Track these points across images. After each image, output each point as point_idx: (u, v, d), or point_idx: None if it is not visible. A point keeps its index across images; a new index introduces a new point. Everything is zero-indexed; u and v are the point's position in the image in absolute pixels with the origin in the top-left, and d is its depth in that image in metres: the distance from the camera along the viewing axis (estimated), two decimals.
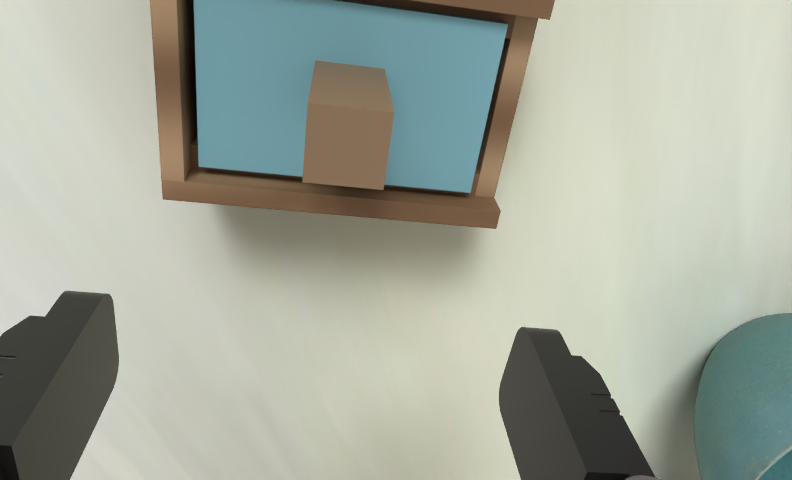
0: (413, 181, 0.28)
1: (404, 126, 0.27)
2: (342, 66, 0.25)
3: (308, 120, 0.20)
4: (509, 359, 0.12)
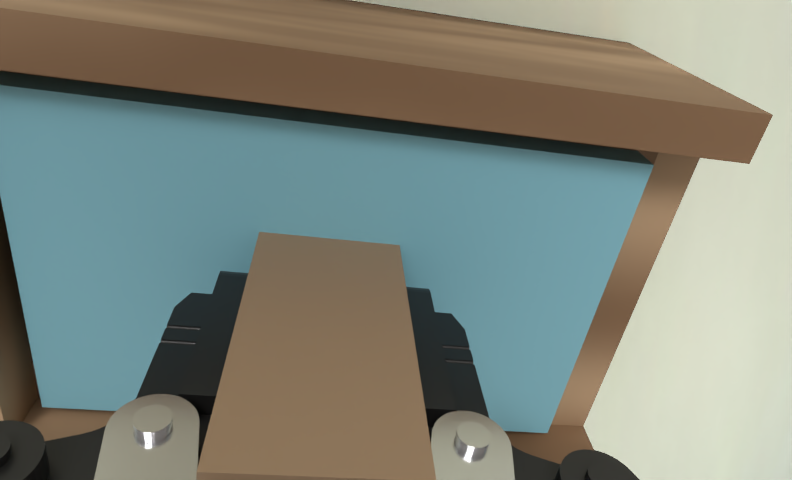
0: None
1: None
2: (313, 250, 0.12)
3: None
4: None
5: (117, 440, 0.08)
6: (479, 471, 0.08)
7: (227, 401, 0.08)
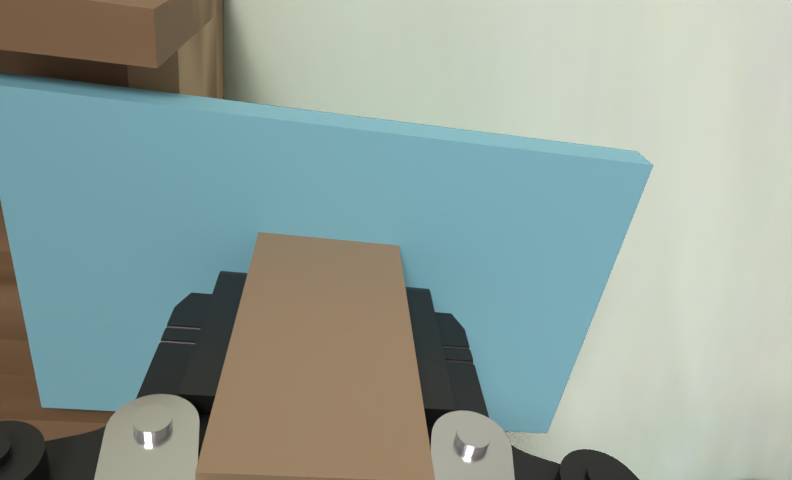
0: None
1: None
2: (312, 250, 0.12)
3: None
4: None
5: (117, 440, 0.08)
6: (479, 471, 0.08)
7: (226, 401, 0.08)
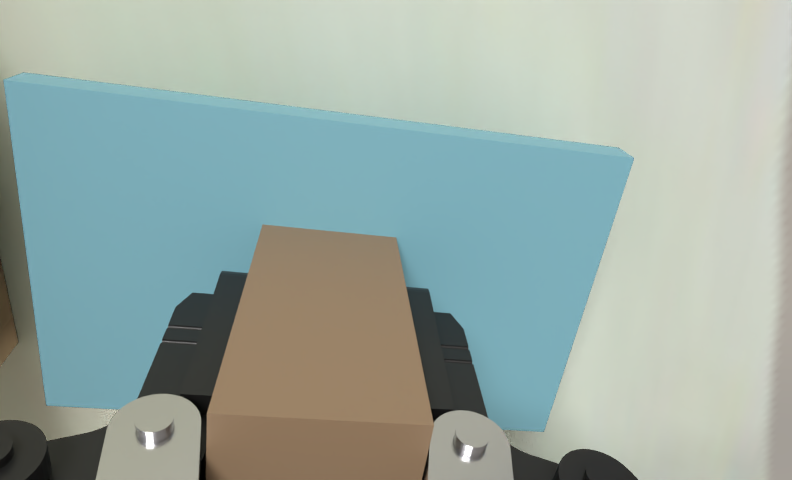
0: None
1: None
2: (314, 239, 0.13)
3: (211, 450, 0.08)
4: None
5: (119, 440, 0.08)
6: (478, 471, 0.08)
7: (235, 358, 0.09)
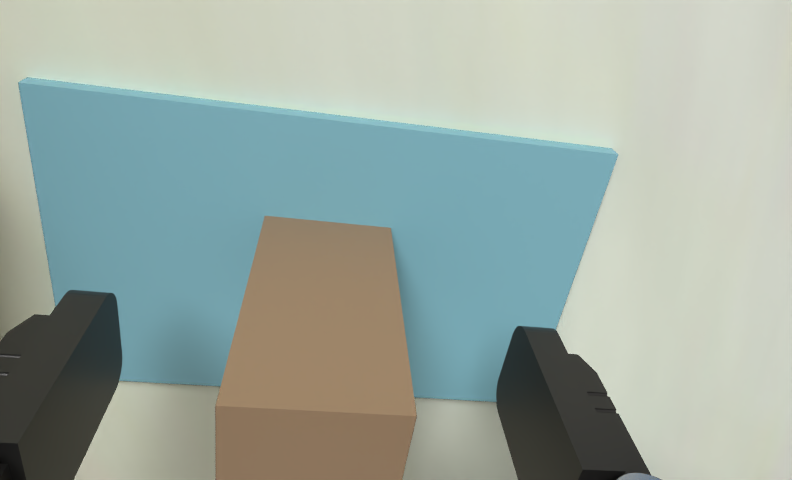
0: (436, 390, 0.17)
1: (423, 313, 0.16)
2: (313, 231, 0.13)
3: (220, 435, 0.09)
4: (506, 357, 0.12)
5: None
6: None
7: (239, 352, 0.10)
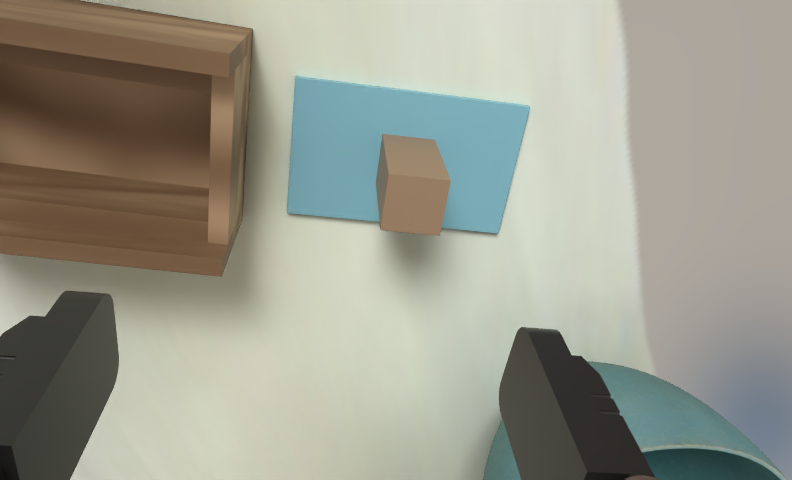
0: (453, 224, 0.36)
1: None
2: (403, 139, 0.32)
3: (388, 186, 0.28)
4: (509, 359, 0.12)
5: None
6: None
7: (390, 165, 0.29)
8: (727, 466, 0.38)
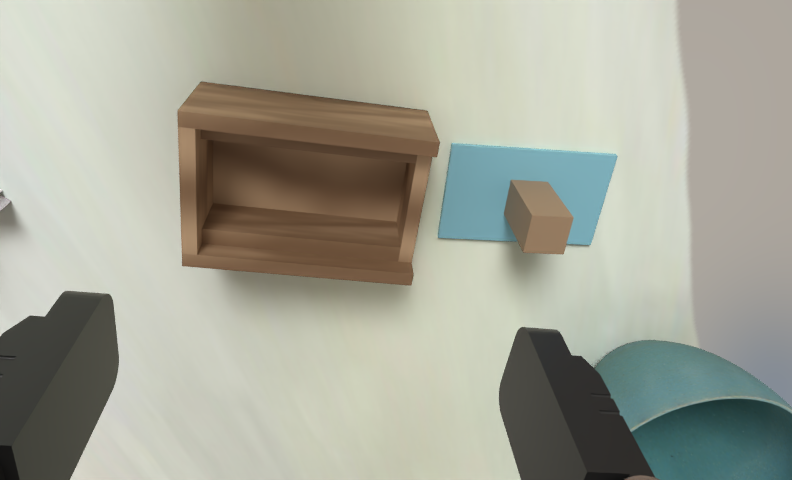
0: None
1: None
2: (527, 183, 0.45)
3: (531, 223, 0.41)
4: (509, 359, 0.12)
5: None
6: None
7: (529, 207, 0.41)
8: (757, 416, 0.52)
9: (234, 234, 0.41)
